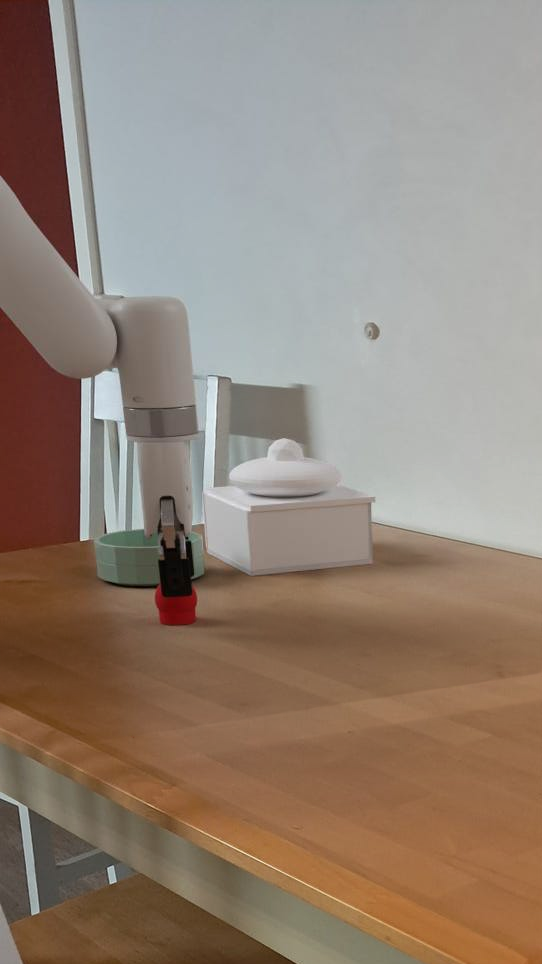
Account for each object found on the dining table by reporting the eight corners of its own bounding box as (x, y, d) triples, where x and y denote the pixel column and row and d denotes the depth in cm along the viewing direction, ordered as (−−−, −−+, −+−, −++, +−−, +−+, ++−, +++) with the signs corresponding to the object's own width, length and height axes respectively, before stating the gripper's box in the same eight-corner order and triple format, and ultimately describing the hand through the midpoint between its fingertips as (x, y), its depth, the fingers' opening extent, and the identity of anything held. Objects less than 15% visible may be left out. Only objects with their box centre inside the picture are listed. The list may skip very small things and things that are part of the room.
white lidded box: (206, 552, 178) (197, 433, 172) (325, 542, 186) (320, 428, 180) (250, 576, 164) (242, 447, 158) (376, 563, 172) (373, 441, 166)
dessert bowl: (94, 589, 156) (89, 548, 154) (103, 568, 168) (99, 529, 166) (204, 586, 158) (200, 546, 156) (205, 565, 170) (202, 527, 168)
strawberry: (155, 626, 140) (151, 581, 138) (157, 616, 144) (153, 572, 142) (198, 625, 141) (194, 579, 139) (199, 615, 145) (195, 571, 143)
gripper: (130, 417, 141) (148, 571, 148) (118, 434, 126) (139, 606, 133) (199, 415, 142) (214, 568, 149) (196, 432, 127) (212, 602, 134)
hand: (178, 586), depth 141 cm, fingers open, 9 cm apart
